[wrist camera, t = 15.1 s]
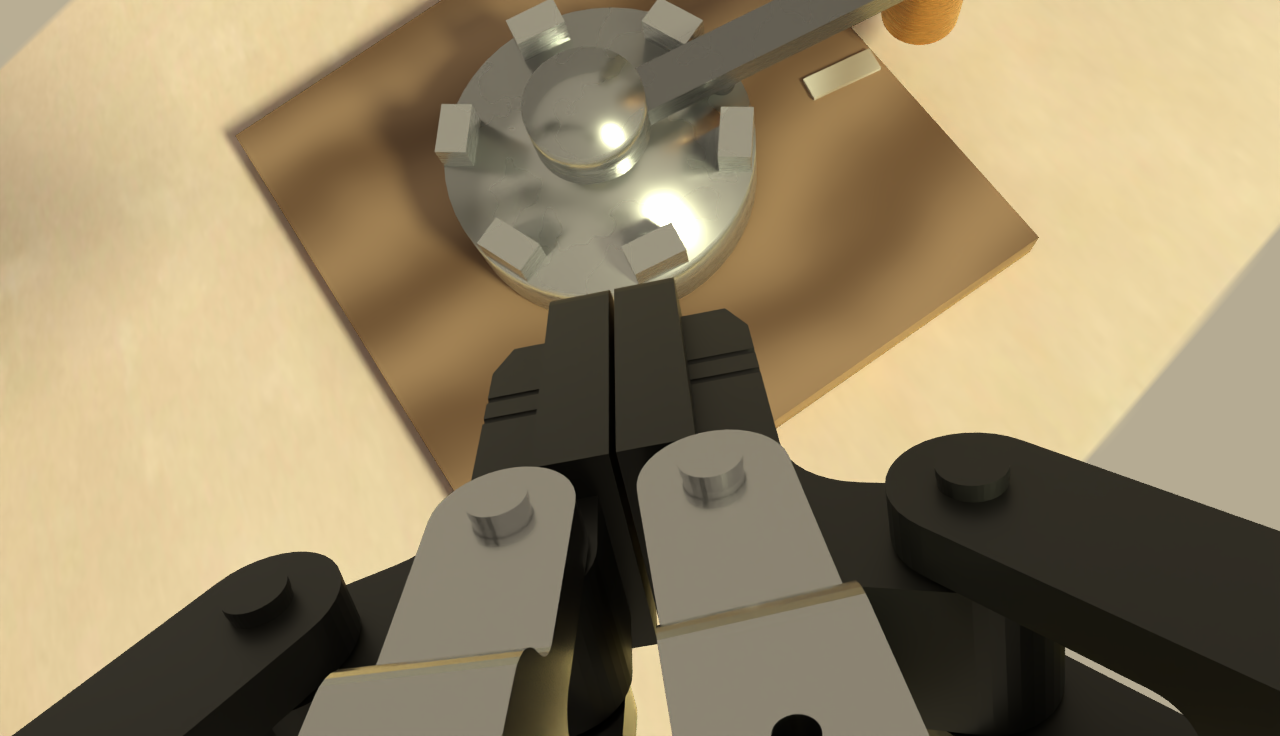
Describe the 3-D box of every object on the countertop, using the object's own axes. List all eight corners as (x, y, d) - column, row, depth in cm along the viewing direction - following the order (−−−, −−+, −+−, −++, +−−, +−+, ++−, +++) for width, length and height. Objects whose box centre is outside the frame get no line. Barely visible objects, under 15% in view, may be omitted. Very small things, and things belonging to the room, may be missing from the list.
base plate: (252, 151, 46) (233, 133, 45) (686, -135, 47) (683, -163, 46) (529, 600, 39) (518, 597, 38) (1029, 252, 41) (1040, 235, 39)
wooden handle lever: (535, 371, 40) (414, 226, 26) (423, 128, 43) (265, -110, 30) (1026, 128, 40) (1159, -140, 26) (876, -94, 44) (924, -431, 30)
